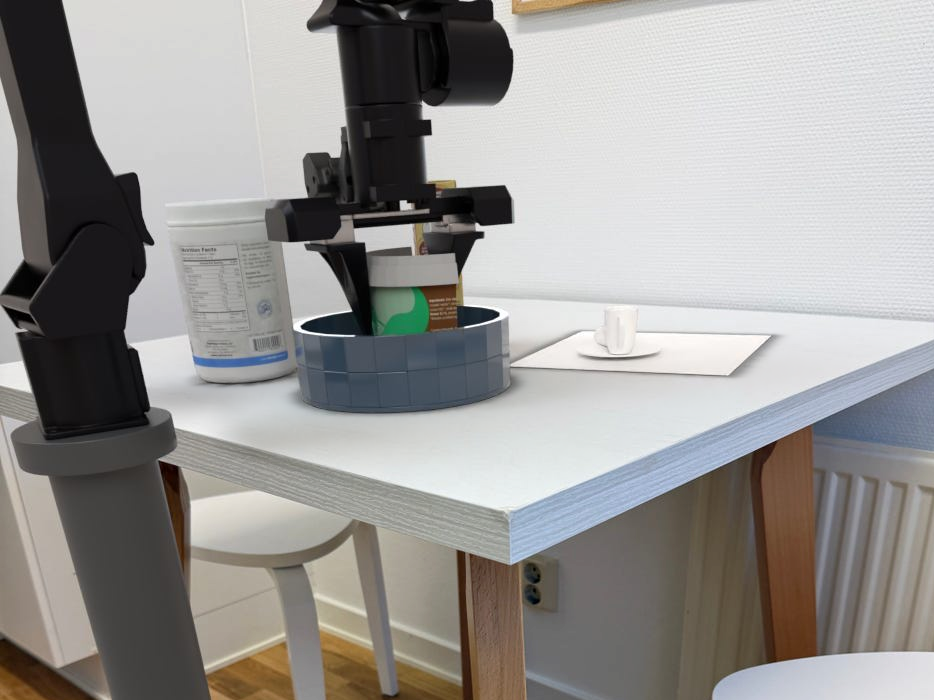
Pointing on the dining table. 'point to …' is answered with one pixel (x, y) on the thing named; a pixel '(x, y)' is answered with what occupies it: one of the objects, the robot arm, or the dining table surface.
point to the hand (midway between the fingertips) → (403, 330)
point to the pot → (402, 363)
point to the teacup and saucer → (644, 349)
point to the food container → (412, 291)
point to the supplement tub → (232, 289)
